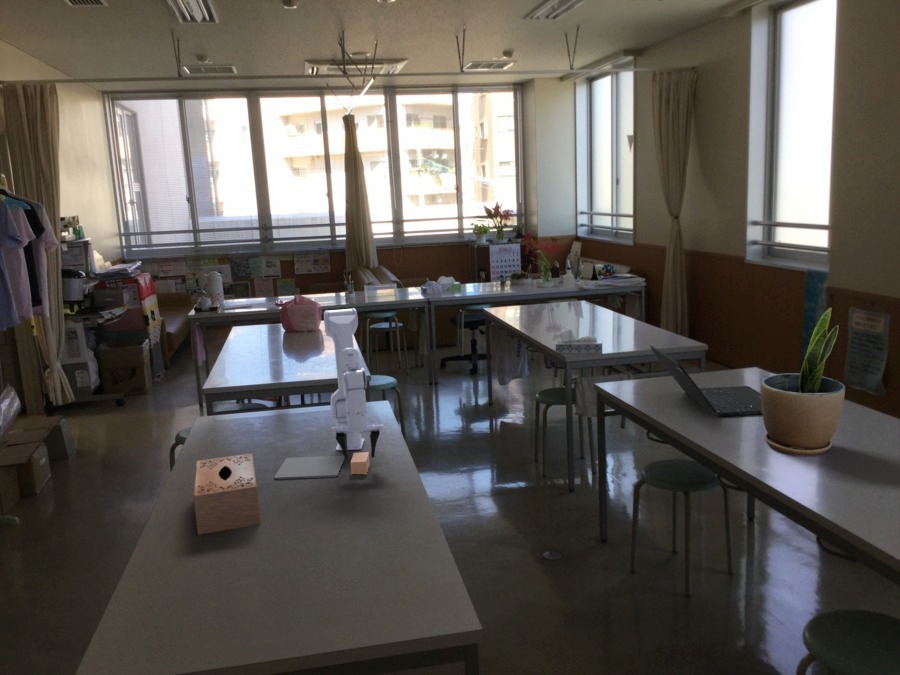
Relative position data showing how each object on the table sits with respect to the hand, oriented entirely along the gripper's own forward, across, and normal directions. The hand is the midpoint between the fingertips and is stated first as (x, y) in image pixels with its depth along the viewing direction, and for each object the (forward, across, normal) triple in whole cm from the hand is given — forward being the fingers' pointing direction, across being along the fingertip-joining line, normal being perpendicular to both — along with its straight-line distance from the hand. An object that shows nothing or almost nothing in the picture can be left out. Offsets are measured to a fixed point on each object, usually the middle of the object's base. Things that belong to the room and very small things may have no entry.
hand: (359, 457), depth 210 cm
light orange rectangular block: (+4, 0, 0) cm, 4 cm away
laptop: (+4, +120, +50) cm, 130 cm away
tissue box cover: (+4, -31, -24) cm, 39 cm away
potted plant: (+4, +127, +2) cm, 127 cm away
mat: (+4, -15, +3) cm, 16 cm away
